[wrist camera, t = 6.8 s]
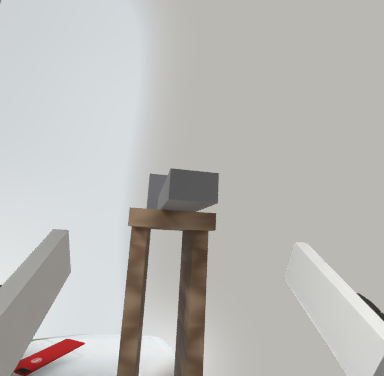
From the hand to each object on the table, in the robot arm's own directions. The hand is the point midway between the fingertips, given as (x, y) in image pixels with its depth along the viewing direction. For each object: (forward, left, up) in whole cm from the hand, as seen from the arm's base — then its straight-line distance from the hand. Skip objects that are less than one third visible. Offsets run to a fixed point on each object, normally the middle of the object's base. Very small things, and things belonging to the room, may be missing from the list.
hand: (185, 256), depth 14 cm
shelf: (0, +23, -26) cm, 35 cm away
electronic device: (-23, +47, -27) cm, 59 cm away
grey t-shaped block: (0, +17, +4) cm, 17 cm away
